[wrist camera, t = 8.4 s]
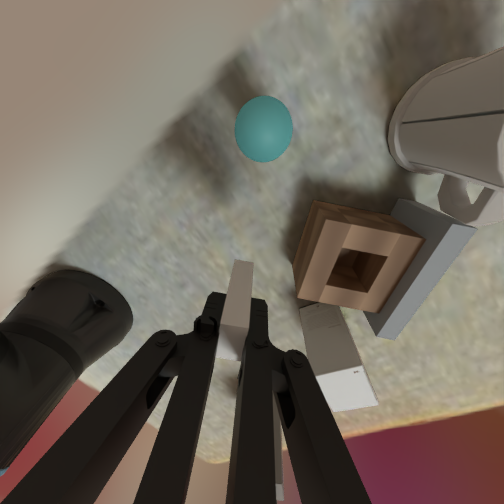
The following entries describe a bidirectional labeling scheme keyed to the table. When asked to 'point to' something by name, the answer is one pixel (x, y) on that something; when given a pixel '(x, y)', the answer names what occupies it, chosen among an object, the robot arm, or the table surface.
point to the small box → (335, 358)
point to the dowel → (263, 128)
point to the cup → (457, 134)
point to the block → (352, 256)
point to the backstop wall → (420, 264)
